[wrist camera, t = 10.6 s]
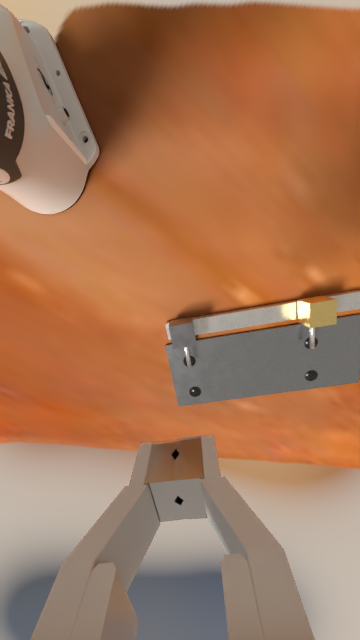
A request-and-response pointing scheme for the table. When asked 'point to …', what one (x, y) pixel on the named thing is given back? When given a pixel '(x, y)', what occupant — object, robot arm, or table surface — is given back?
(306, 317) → the sliding head
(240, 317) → the trammel beam
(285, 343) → the flange plate
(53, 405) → the table surface
